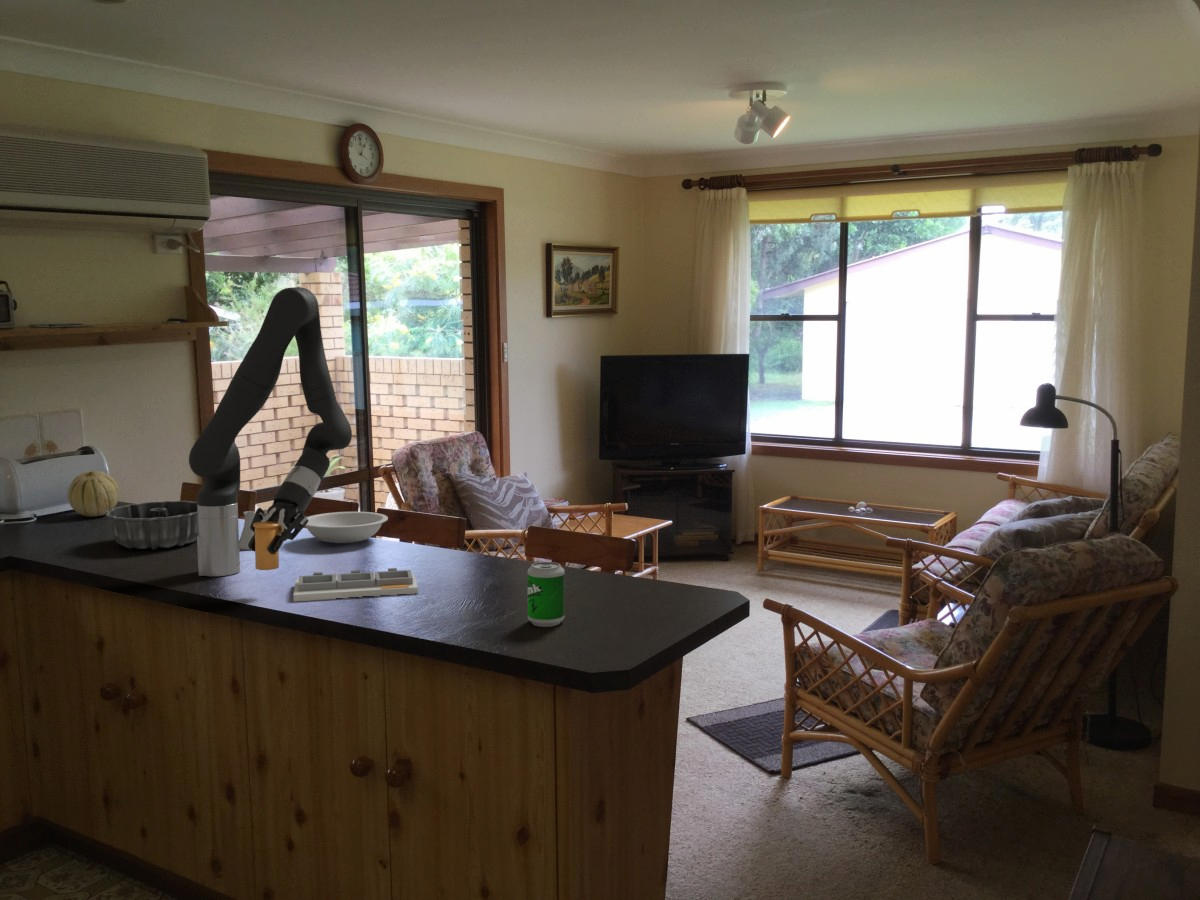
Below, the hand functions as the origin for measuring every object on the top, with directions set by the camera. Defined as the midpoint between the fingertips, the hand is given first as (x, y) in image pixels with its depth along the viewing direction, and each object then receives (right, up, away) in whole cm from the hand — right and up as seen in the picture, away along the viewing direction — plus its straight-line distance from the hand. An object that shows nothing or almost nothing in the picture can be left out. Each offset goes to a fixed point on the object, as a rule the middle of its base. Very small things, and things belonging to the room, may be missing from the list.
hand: (261, 550), depth 219 cm
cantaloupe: (-86, +1, +97) cm, 130 cm away
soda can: (+64, -13, -17) cm, 68 cm away
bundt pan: (-48, -4, +57) cm, 74 cm away
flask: (-20, -5, +52) cm, 56 cm away
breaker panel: (+19, -10, +8) cm, 23 cm away
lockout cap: (+1, -4, +2) cm, 5 cm away
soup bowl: (+3, -4, +60) cm, 60 cm away
